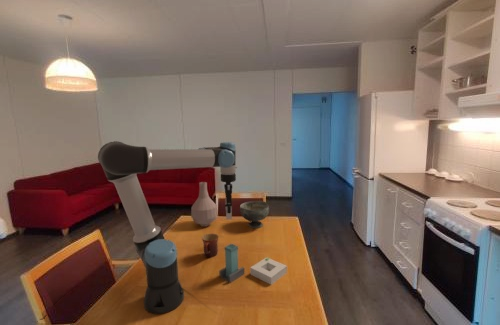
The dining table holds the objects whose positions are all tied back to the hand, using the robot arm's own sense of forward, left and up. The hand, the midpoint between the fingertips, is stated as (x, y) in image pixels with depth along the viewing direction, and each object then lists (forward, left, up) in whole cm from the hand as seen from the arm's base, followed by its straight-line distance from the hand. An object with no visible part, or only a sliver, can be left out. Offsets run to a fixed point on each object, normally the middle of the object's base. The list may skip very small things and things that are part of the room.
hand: (228, 214), depth 131 cm
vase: (+20, +46, -24) cm, 56 cm away
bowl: (+41, +18, -24) cm, 51 cm away
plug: (-11, -13, -23) cm, 29 cm away
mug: (-6, +9, -24) cm, 26 cm away
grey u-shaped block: (-11, -13, -24) cm, 29 cm away
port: (+1, -25, -24) cm, 34 cm away
